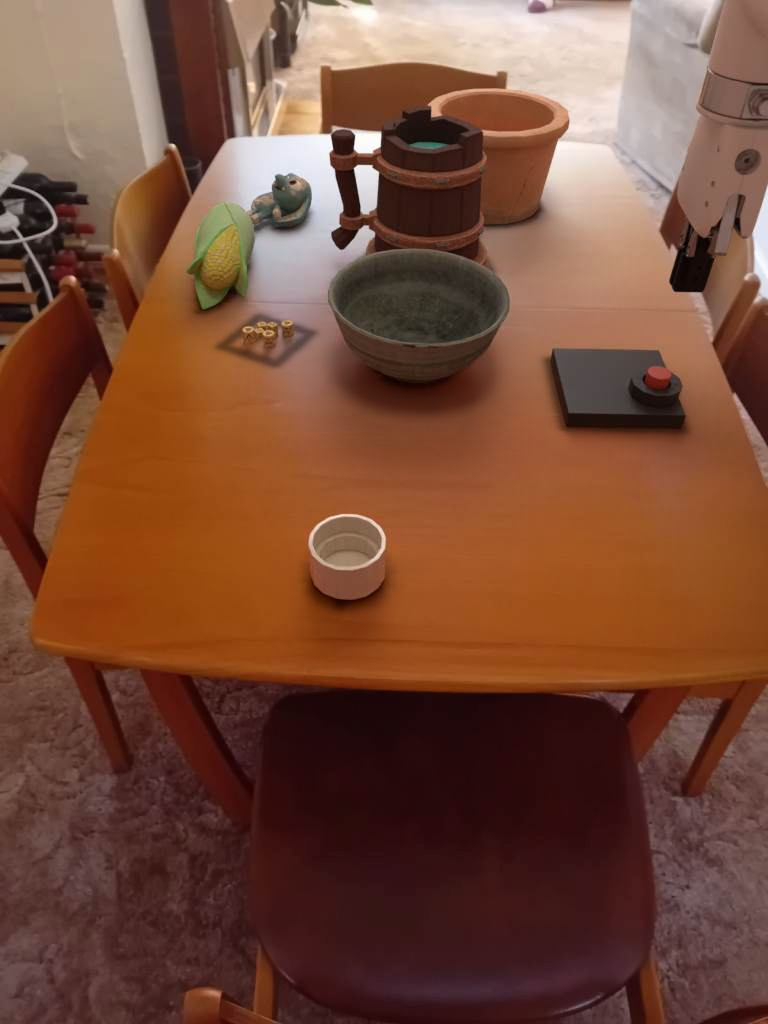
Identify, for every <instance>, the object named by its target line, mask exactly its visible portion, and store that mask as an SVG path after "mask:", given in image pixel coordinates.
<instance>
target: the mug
mask: <svg viewBox="0 0 768 1024" xmlns="http://www.w3.org/2000/svg"><path fill="white" fill-rule="evenodd" d="M330 139H331V145H332V150H330V151H329V152H328V155H329V163H330V166H331V168H332V169H333V170H334V176H335V182H336V184H337V188H338V191H339V196H340V199H341V203H342V211H341V212H340V214H339V220H338V224H339V227H338V228H336V229H334V230H332V231H331V232H330V237H331V240H332V242H333V243H334V245H335V247H336V248H337V249H338V250H340V251H344V250H345V249H346V248H347V247H348V246H349V245H350V244H351V242H353V240H354V239H355V238H356V236H357V234H358V233H359V232H360V230H361V229H362V228H363V227H365V226H367V227H368V229H369V230H370V231H372V232H374V236H373V237H372V238H371V239H370V240H369V241H368V243H367V247H366V248H365V255H364V256H366V255H370V254H373V253H376V252H381V251H388V250H396V249H430V250H436V251H443V252H447V253H451V254H455V255H459V256H462V257H465V258H467V259H470V260H472V261H475V262H477V263H479V264H481V265H483V266H484V267H486V268H488V269H490V264H489V262H488V260H487V253H488V252H487V248H486V247H485V245H484V243H483V242H482V241H481V240H480V237H481V236H482V234H483V233H484V232H485V228H484V227H485V224H484V217H483V215H482V213H481V211H480V206H481V181H482V175H483V174H484V173H485V171H486V158H487V156H486V155H485V153H484V152H483V131H482V130H480V129H479V128H477V127H476V126H474V125H473V124H471V123H468V122H465V121H462V120H459V119H456V118H453V117H450V116H448V115H443V116H437V117H431V106H428V105H420V106H419V105H417V106H413V107H409V108H405V109H403V110H402V115H401V116H400V117H397V118H395V119H391V120H388V119H384V120H383V123H382V125H381V133H380V147H377V148H376V149H373V150H372V152H371V153H370V152H368V153H367V152H365V153H364V152H357V150H355V144H356V134H355V133H354V132H353V131H352V130H350V129H345V128H342V129H335V130H334V131H333V132H332V133H331V134H330ZM357 166H371V168H372V169H373V170H374V171H376V172H378V181H377V183H378V184H377V195H376V207H375V208H374V209H372V210H370V211H368V213H363V212H362V211H361V210H362V209H361V208H362V207H361V200H360V195H359V187H358V184H357V183H358V182H357V178H356V177H357V176H356V171H355V168H356V167H357Z"/></svg>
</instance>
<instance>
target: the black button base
mask: <svg viewBox="0 0 768 1024" xmlns="http://www.w3.org/2000/svg"><path fill="white" fill-rule="evenodd" d="M549 361H550V365H551V370H552V374H553V378H554V382H555V386H556V391H557V395H558V399H559V403H560V407H561V412H562V415H563V420H564V424H565V427H571V428H572V427H573V428H574V427H575V428H579V427H580V428H581V427H582V428H623V429H624V428H626V429H627V428H628V429H629V428H631V429H638V428H639V429H677V430H679V429H682V428H683V425H684V423H685V420H686V418H687V413H686V411H685V409H684V407H683V404H682V401H681V400H680V396H681V393H682V390H683V387H684V385H683V382H682V380H681V378H680V377H679V376H678V375H676V374H675V373H674V372H672V371H670V372H671V379H670V382H669V385H668V387H667V388H666V389H664V390H657V389H653V388H650V387H648V386H647V385H646V384H645V378H646V375H647V371H648V369H649V368H650V367H653V366H660V367H664V368H666V369H667V366H666V364H665V361H664V359H663V357H662V355H661V352H660V350H659V349H625V348H623V349H622V348H621V349H618V348H617V349H616V348H615V349H614V348H608V349H607V348H567V347H566V348H563V347H562V348H561V347H560V348H559V347H553V348H552V349H551V355H550V359H549Z"/></svg>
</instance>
